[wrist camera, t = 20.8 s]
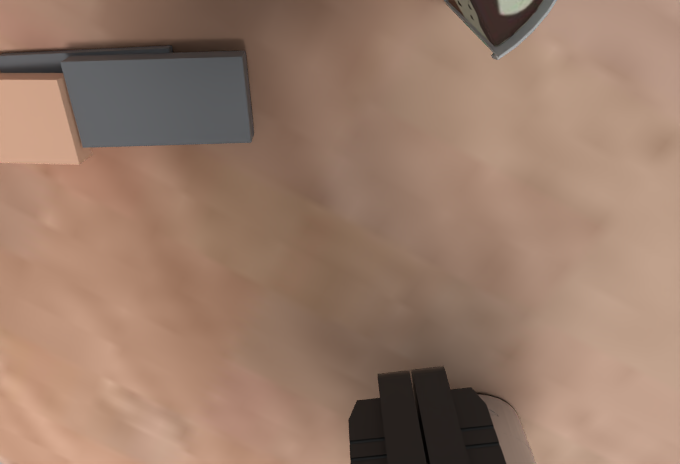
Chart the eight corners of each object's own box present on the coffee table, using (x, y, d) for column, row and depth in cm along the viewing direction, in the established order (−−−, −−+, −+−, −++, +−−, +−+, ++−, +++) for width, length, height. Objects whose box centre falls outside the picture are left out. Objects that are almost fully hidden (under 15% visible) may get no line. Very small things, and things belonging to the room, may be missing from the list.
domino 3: (251, 142, 33) (82, 147, 33) (254, 133, 35) (92, 138, 35) (242, 56, 31) (60, 61, 31) (245, 50, 32) (71, 55, 32)
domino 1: (184, 131, 35) (23, 138, 35) (189, 123, 36) (35, 129, 36) (168, 48, 32) (-5, 56, 32) (175, 42, 34) (9, 50, 34)
